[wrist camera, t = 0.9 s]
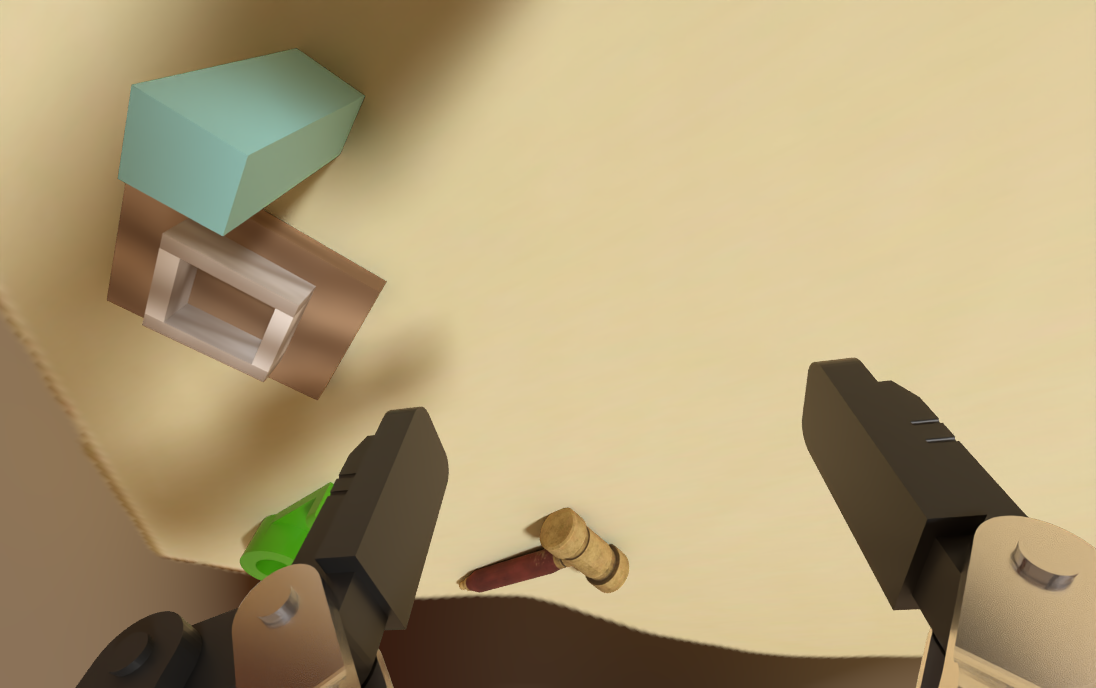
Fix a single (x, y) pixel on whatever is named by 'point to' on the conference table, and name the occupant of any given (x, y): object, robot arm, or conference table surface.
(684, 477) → the conference table surface
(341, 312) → the walnut socket plate
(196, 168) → the teal post
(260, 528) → the green slotted bracket
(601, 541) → the gavel
